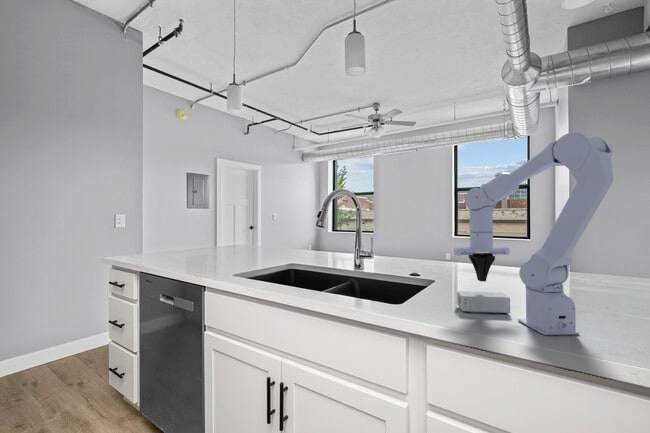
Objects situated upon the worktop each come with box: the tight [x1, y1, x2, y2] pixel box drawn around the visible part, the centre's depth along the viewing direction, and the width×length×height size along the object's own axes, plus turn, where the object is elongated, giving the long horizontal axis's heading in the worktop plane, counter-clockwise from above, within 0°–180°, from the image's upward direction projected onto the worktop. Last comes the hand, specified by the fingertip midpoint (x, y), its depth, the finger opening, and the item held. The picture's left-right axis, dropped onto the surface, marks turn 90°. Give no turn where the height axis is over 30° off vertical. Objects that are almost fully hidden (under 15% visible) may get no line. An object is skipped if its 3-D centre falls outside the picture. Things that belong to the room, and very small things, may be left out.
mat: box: [467, 311, 496, 314], centre depth 87 cm, size 7×10×1 cm, turn 90°
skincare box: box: [456, 290, 511, 314], centre depth 85 cm, size 6×4×12 cm
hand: (481, 280), depth 87 cm, fingers closed
